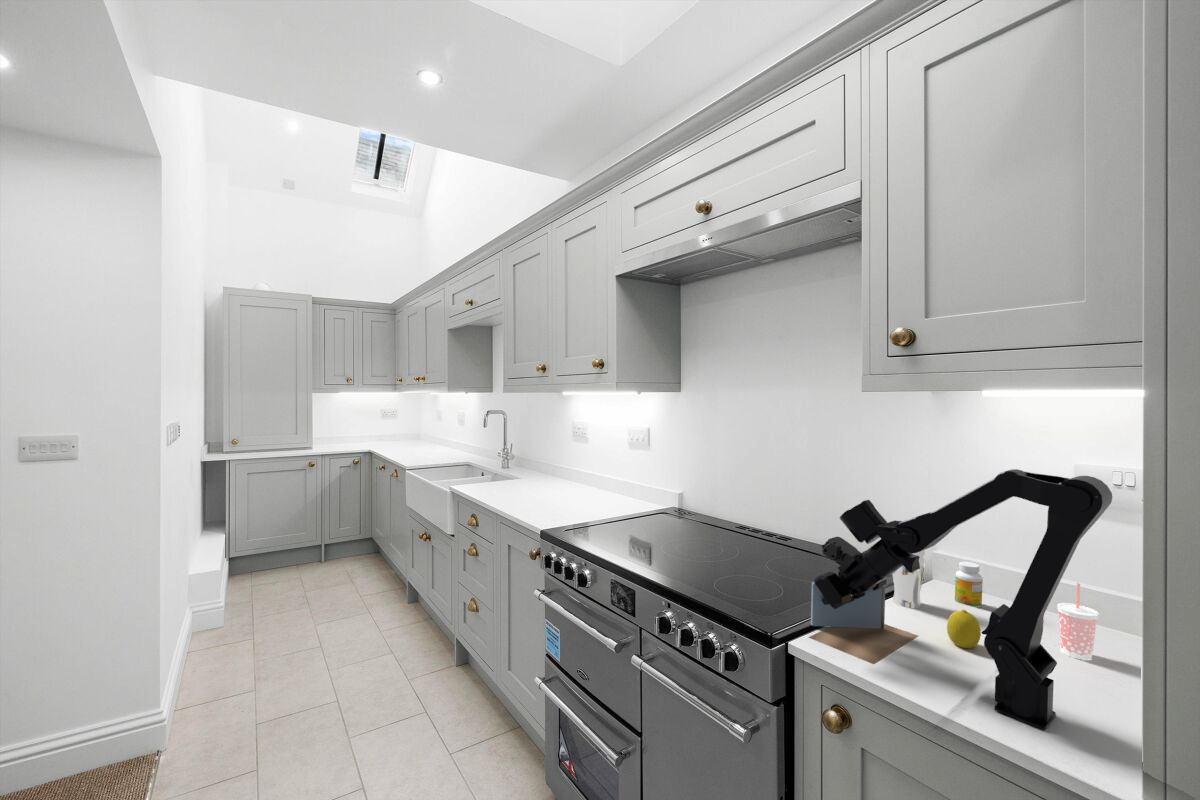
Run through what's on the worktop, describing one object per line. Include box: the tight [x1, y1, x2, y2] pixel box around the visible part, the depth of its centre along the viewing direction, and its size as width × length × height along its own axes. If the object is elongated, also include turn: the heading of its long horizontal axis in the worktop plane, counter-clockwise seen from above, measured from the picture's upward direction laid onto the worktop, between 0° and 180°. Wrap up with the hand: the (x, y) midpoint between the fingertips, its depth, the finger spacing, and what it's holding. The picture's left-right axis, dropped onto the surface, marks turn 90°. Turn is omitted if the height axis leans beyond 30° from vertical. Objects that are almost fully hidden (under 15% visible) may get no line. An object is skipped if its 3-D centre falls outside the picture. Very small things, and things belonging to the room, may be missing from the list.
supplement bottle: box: [954, 561, 984, 609], centre depth 130 cm, size 5×5×10 cm
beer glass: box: [891, 549, 926, 609], centre depth 128 cm, size 7×7×15 cm
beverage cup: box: [1056, 582, 1100, 661], centre depth 106 cm, size 6×6×14 cm
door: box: [810, 581, 886, 629], centre depth 115 cm, size 2×15×9 cm, turn 86°
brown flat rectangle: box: [808, 623, 919, 665], centre depth 110 cm, size 13×19×1 cm
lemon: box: [946, 609, 982, 649], centre depth 107 cm, size 6×6×8 cm
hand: (823, 602), depth 113 cm, fingers closed
